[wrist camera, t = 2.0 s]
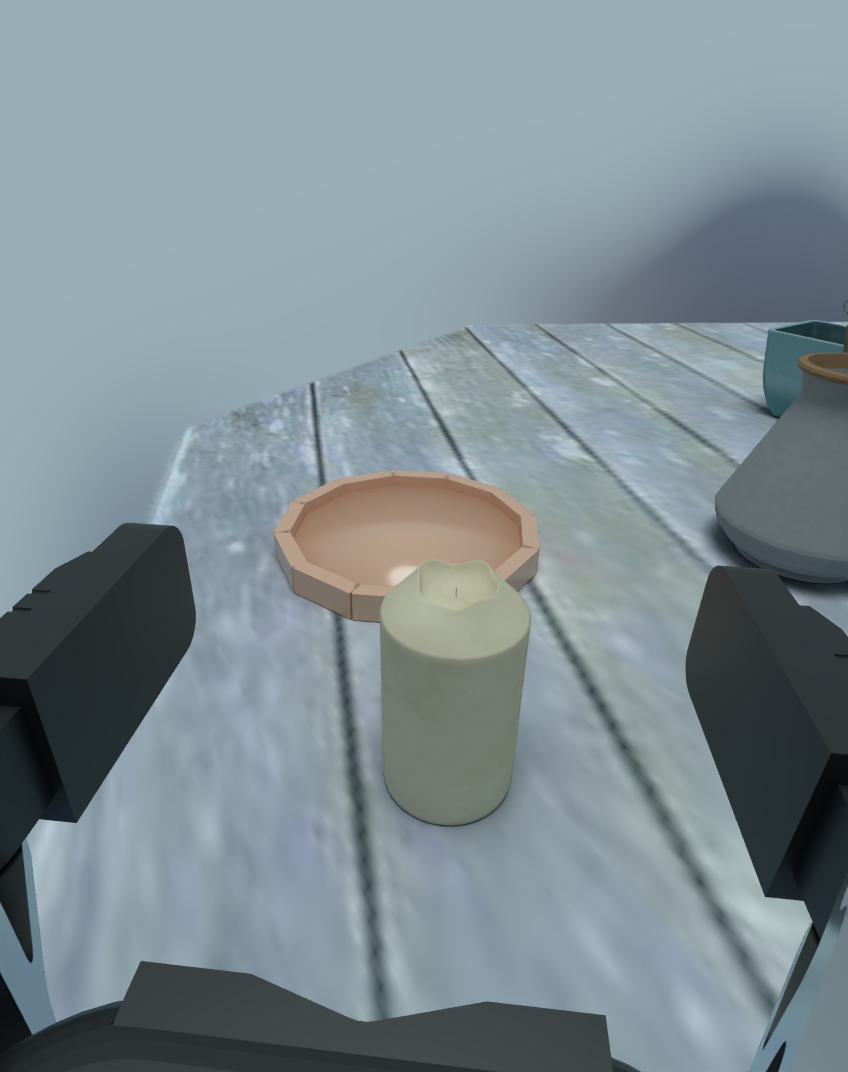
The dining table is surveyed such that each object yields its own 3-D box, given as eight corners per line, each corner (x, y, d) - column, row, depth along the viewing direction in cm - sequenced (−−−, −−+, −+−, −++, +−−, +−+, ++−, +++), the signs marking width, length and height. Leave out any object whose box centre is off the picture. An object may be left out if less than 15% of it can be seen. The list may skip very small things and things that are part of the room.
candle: (355, 773, 28) (346, 577, 23) (441, 706, 32) (449, 524, 27) (453, 854, 25) (466, 647, 20) (536, 770, 28) (565, 576, 24)
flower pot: (825, 440, 64) (857, 346, 59) (743, 414, 70) (766, 327, 66) (870, 424, 68) (903, 336, 64) (789, 401, 74) (814, 319, 70)
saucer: (461, 478, 55) (462, 458, 54) (587, 584, 41) (591, 559, 40) (255, 515, 48) (252, 493, 47) (324, 654, 35) (322, 626, 34)
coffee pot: (898, 623, 38) (1018, 365, 31) (691, 568, 43) (753, 334, 36) (881, 487, 55) (957, 298, 47) (733, 459, 59) (781, 282, 52)
